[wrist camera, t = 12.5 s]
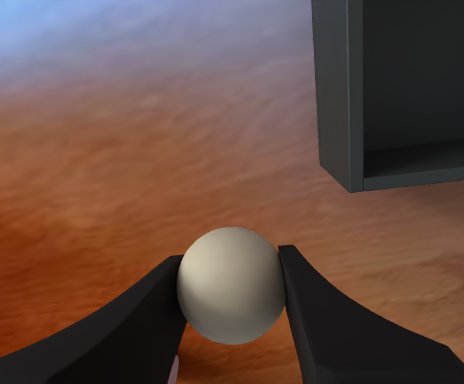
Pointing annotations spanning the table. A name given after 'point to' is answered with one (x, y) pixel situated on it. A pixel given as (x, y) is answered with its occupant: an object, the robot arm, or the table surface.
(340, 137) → the bin
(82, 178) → the table surface
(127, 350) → the robot arm
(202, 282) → the beige ball
